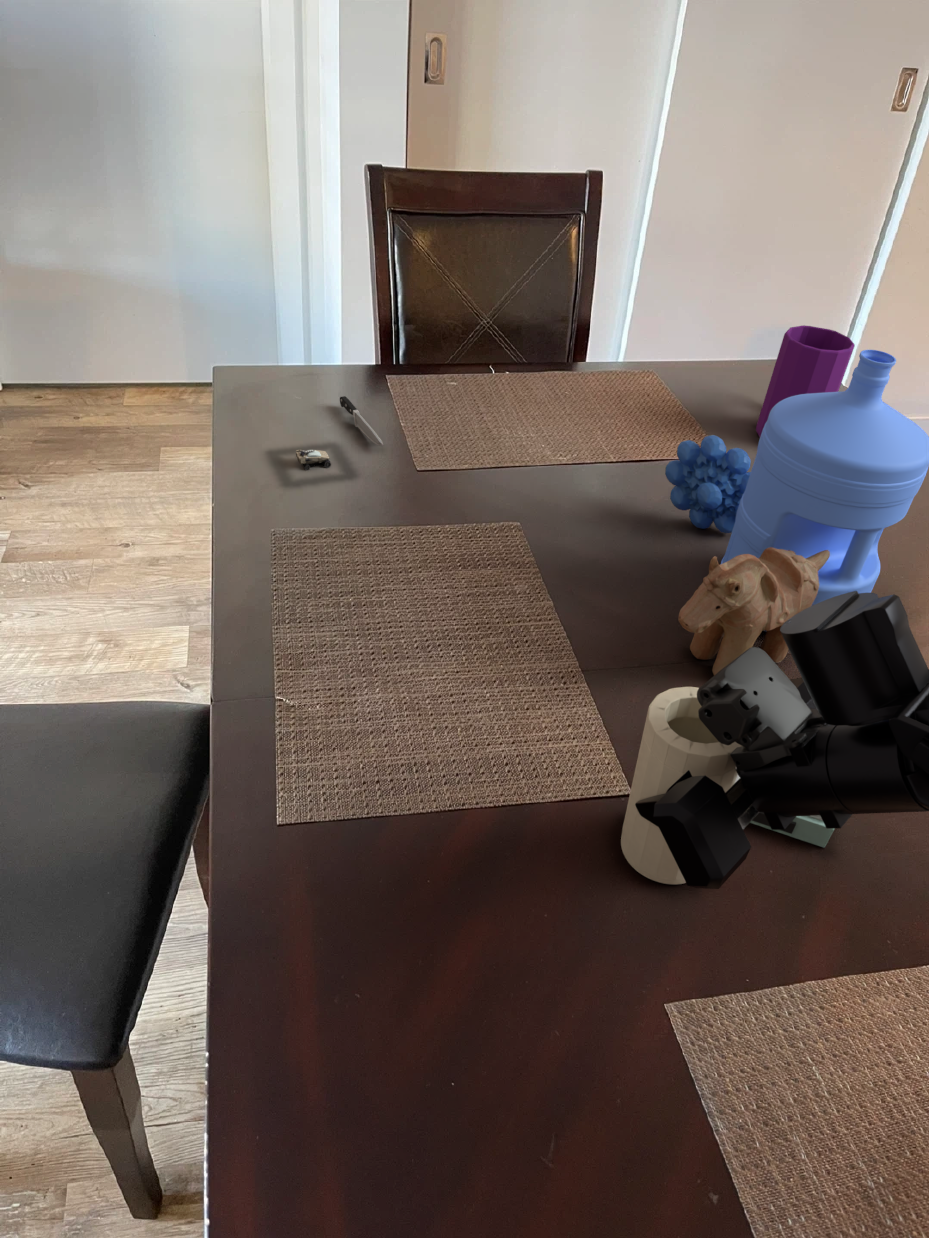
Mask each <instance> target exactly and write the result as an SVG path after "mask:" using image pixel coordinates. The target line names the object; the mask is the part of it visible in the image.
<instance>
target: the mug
mask: <svg viewBox="0 0 929 1238" xmlns="http://www.w3.org/2000/svg"><path fill="white" fill-rule="evenodd" d="M855 345H856V344H855V343H854V342H853V340H852V339H851V337H849V336H847V335H845V334H842V333H841V332H839V331H836V330H834V329H829V328H823V327H819V326H818V327H817V326H811V325H805V324H804V325H798V326H797V325H796V326H792V327H789V328H788V330H786V331H785V333H784V335H783V337H782V340H781V343H780V347H779V351H778V354H777V357H776V361H775V363H774V367H773V370H772V373H771V377H770V381H769V383H768V386H767V390H766V393H765V396H764V399H763V400H764V401H763V403H762V406H761V410H760V412H759V416H758V419H757V422H756V426H755V431H756V433H757V436H758V437H759V438H760V437H761V434H762V430H763V428H764V425H765V423H766V422H767V420H768V417H769V413H770V411H771V410H772V408H773V407H774V406H775V405H776V404H777V403H778V402H780V401H782V400H783V399H786V398H788V397H791V396H795V395H800V394H810V393H826V392H840V391H839V390H840V389H841V385H842V384H843V383H842V382H843V380H844V376H845V375H846V371H847V369H848V366H849V363H850V360H851V357H852V355H853V352H854V349H855Z"/></svg>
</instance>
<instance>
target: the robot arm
mask: <svg viewBox="0 0 929 1238" xmlns="http://www.w3.org/2000/svg"><path fill="white" fill-rule="evenodd" d="M780 632H781V634H782V636H783V638H784V641H785V643H786V645H787V647H788V649H789V650H788V652H789V653H790V655H791V657H792V660H793V661H794V664H795V666H796V669H797V670H798V673H799V675H800V676H801V677H797V678H792V679H790V678H789V677H788V676H787V675H786V673H784V671H783V670H782V669H781V667H779V666H778V665H777V663H776V662H774V661H773V660H772V659H771V658H770V657H769V655H768V654H767V653H766V652H765V651H764V650H762V649H760V647H757V646H753V647H751V648H749V649H748V650H746V651H745V652H744V653H742V654H741V655H740V656H738V657H737V658H736V659H734V660H733V661H732V662H731V663H729V664H728V665H727V666H725V667H724V668H723V669H721V670H720V671H719V672H718V673H717V674H715V675H714V674H713V676H712V677H711V678H710V679H708V680H707V681H706V682H704V683H703V684H702V685H701V686H700V687H698V688H699V689H698V691H697V699H698V702H699V703H700V705H701V706H702V707H701V708H700V709H699V710H698V716H699V719H700V720H701V721H702V722H703V724H704V725H705V726H706V727H707V728H708V730H709V731H710V732H711V733H712V734H713V736H714V737H715V738H716V739H717V740H718V741H719V742H720V743H721V744H724V745H731V744H732V743H734V742H736V743H738V744H740V745H742V746H743V747H737V748H736V749H735V750H734V751H733V752H731V753H730V755H731V757H732V759H733V762H734V764H735V769H736V772H737V774H738V776H739V777H740V779H739V780H738V781H737V782H736V783H735V784H734V785H733V786H732V787H731V788H730V789H729V790H728V791H727V792H726V793H725V791H724V789H723V787H722V786H720V785H719V784H717V783H716V782H714V781H713V780H711V779H710V778H708V777H707V776H705V775H704V776H692V775H691V773H690V771H689V770H688V771H687V772H686V773H685V774H683V775H682V776H681V777H680V778H679V779H678V780H677V781H676V782H675V783H674V784H673V785H672V786H671V787H669V788H668V790H667V791H666V793H664V794H660V795H656V796H652V797H648V798H645V799H642V800H639V801H638V802H636V803H635V806H636V808H637V810H638V812H639V814H640V815H641V816H642V817H643V818H645V819H646V820H648V821H650V822H651V823H653V824H654V825H656V826H657V827H659V829H660V831H661V833H662V835H663V837H664V839H665V841H666V843H667V845H668V847H669V849H670V851H671V853H672V855H673V857H674V859H675V861H676V863H677V865H678V867H679V869H680V871H681V873H682V875H683V877H684V879H685V881H686V883H685V884H686V885H687V887H691V888H694V889H708V890H709V889H710V890H719V889H720V888H721V887H722V886H723V885H724V884H725V883H726V882H727V880H728V879H730V877H731V876H732V875H733V874H734V873H735V871H737V870H738V868H739V867H740V866H741V865H742V864H743V863H744V861H745V860H746V859H747V857H748V855H749V853H750V851H751V848H752V845H751V843H750V840H749V839H748V836H747V835H746V833H745V831H744V830H745V828H747V826H749V824H751V823H750V822H751V821H752V820H753V819H754V818H755V817H756V815H757V814H758V813H759V812H763V813H764V815H765V817H766V819H767V821H768V823H769V825H770V827H771V829H772V830H771V831H773V830H785V829H786V828H787V826H788V825H789V824H790V823H791V822H792V821H793V820H794V819H795V817H796V816H816V815H820V816H821V818H822V820H823V822H824V824H825V826H826V828H827V829H833V828H834V829H842V828H843V826H844V825H845V824H846V823H847V822H848V821H849V819H850V818H851V817H852V816H853V815H864V814H895V813H897V814H898V813H919V812H920V813H921V812H929V667H928V665H927V663H926V660H925V659H924V656H923V654H922V652H921V650H920V647H919V645H918V643H917V641H916V638H915V636H914V634H913V632H912V630H911V627H910V622H909V617H908V613H907V611H906V609H905V606H904V604H903V602H902V600H901V597H900V596H898V595H897V594H895V593H894V594H890V595H884V596H882V597H881V596H880V597H879V595H878V594H877V593H876V592H875V593H874V592H871V593H859V594H858V592H857V591H853V592H849V593H845V594H842V595H838V596H835V597H832V598H830V599H827V600H824V601H822V602H820V603H817V604H815V605H813V606H811V607H809V608H807V609H805V610H803V611H801V612H799V613H797V614H796V615H794V616H793V617H791V618H790V619H788V620H787V621H786V622H785V623H784V624H783V625H782V626H781V628H780Z"/></svg>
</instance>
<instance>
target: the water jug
mask: <svg viewBox="0 0 929 1238" xmlns="http://www.w3.org/2000/svg"><path fill="white" fill-rule="evenodd" d="M858 357H859V360H858V363H857V366H855V368H854V369H853V371H852V374H851V380H850V382H849V385H848V387H847V389H845V390H843V391H838V392H826V393H810V394H800V395H795V396H791V397H788V398H786V399H783V400H782V401H780V402H778V403H777V404H776V405H775V406H774V407H773V408H772V410H771V411H770V413H769V417H768V420H767V422H766V423H765V425H764V428H763V430H762V434H761V437H759V440H758V443H757V449H756V455H755V458H754V462H753V464H752V467H751V470H750V472H751V473H750V477H749V480H748V483H747V486H746V489H745V492H744V494H743V495H742V498H741V500H740V503H739V507H738V510H737V514H736V519H735V524H734V527H733V530H732V533H730V537H729V539H728V543H727V545H726V546H727V547H726V550H725V553H724V555H723V557H722V559H721V561H720V564H723V563H725V562H727V561H729V560H731V559H733V558H734V557H736V556H738V555H742V554H750V555H753V556H755V557H757V558H760V556H761V555H762V553H763V551H764V550H765V549H767V548H769V547H773V548H776V549H784V550H791V551H794V552H795V553H796V555H801V556H803V557H804V558H808V557H810V556H812V555H814V554H817V553H819V552H821V551H824V550H828V551H829V552H830V556H829V559H828V560H827V561H826V563H825V564H824V565H823V567H822V568H821V569H820V570H819V571H818V579H819V589H818V593H817V596H816V598H815V600H814V602H813V603H812V605H811V606H813V605H815V604H817V603H820V602H822V601H824V600H827V599H830V598H832V597H835V596H838V595H842V594H845V593H849V592H853V591H857V592H858V594H859V593H872V592H873V589H874V587H875V585H876V583H877V581H878V578H879V575H880V573H881V561H880V558H879V551H878V550H879V549H878V546H879V542H880V539H881V536H882V534H883V531H884V530H885V529H886V528H888V527H891V526H893V525H896V524H897V523H899V522H900V521H902V520H903V519H904V518H905V517H906V516H907V514H908V512H909V510H910V507H911V505H912V503H913V501H914V498H915V497H916V496H917V494H918V492H919V491H920V489H921V487H922V484H923V483H924V480H925V478H926V476H927V472H928V470H929V435H928V433H926V431H925V430H924V429H923V428H922V427H921V426H920V425H919V424H917V423H916V422H915V421H913V420H912V419H910V418H909V417H908V416H906V415H904V414H903V413H901V412H899V410H897V409H895V408H894V407H892V406H890V405H889V404H888V403H886V402H884V401H883V397H882V396H883V394H884V392H885V391H884V390H885V388H886V386H887V385H888V383H889V381H890V373H891V370H892V368H893V367H894V366H895V365H896V364H897V359H896V357H895V356H894V355H892V354H890V353H889V352H885V351H882V350H877V349H863V350H861V351H860V352H859V354H858ZM762 632H765V633H766V632H767V631H766V630H763V631H762Z"/></svg>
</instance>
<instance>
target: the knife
mask: <svg viewBox="0 0 929 1238" xmlns="http://www.w3.org/2000/svg"><path fill="white" fill-rule="evenodd" d="M339 404H340V406H341V408H344V409H345V411H346V412H347V413H348V414H350V415H351V416H353V421H354V426H355V428H358V429H359V430H360V431H361V432H362V433H363V434H364V435H365V437H367V438H368V439H369V440H370V441H371V442H372V443H373V444H374V445H377V446H379V447H384V443H383V442H384V441H383V440H382V439H381V438H380V436H379V435H378V433H377V432H376V431H375V430H374V428H373V427H372V426H371V425H370V423H368V422H367V420H366V419H365V418H364V417H363V416H362V415H361V413H360V411H359V410H358V408H357V407H356V406H355V405H354V404H353V402H351V400H350V399H349V398H348V397H347V396H346V395H345V396H344V395H343V396H340V397H339Z"/></svg>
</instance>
